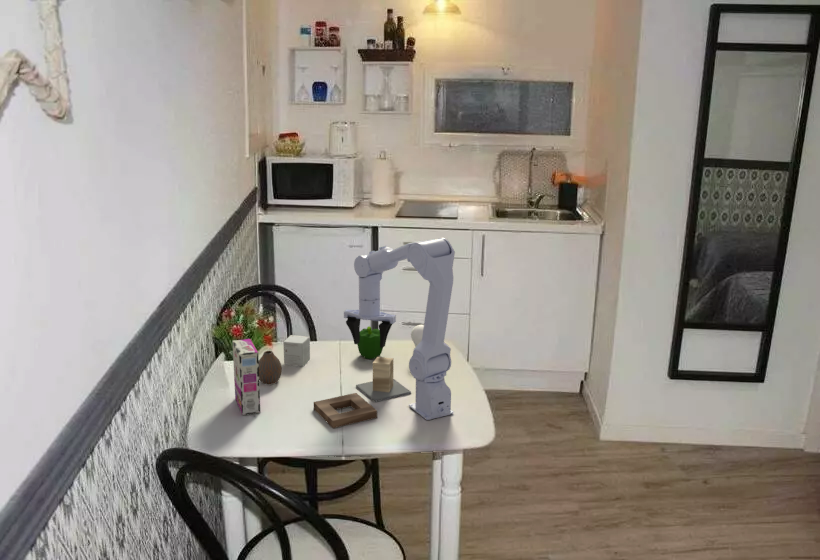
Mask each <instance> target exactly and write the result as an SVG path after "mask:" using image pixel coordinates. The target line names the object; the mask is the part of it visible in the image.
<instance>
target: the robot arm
mask: <svg viewBox="0 0 820 560" xmlns="http://www.w3.org/2000/svg"><path fill="white" fill-rule="evenodd" d="M455 254H456V252H455V250H454V248H453V246H452V244H451V243H450V241H449V240H448V238H444V237H438V238H436V239H435V238H432V239H426V240H425V239H424V240H419V241H413V242H408V243H406V244H404V245H403V244H402V245H401V246H399V247H397V248H396V247H395V248H392V247H389V246H387V245H384V246H380V247H379V249H378V250H376V251H375V250H371V251H369V252H368V254H363V255H358V256H357V257H355V259H354V261H353V267H354V271H355V274H356V275H357V276H358V309H347V308H346V309H345V310H344V311H343V318H344V319H347V320H346V321H345V324H346V326H347V327H348V329H349V331H350V334H351V336H352V339H353V343H354V345H357V344H358V343H359V341H360V331H361V330H360V329H361V328H360V327H361V321H362V320H363V321H373V322H380V323H379V324H378V329H379V331H380V348H384V347H386V343H387V338H388V334H389V332H390V330H391V328H392V325H394V324H395V323H396V322H397V315H396V314H391V313H389V312H384V311H381V280H382V279H383V273H384V272H386V271H391V270H393V269H395V268H396V267H397V266H398V265H399V262H401V261H404V260H407V262H409V263H410V264H411V266H412V268H414V269H415V271H417V272H418V273H419V275H420V276H421V277H422V278H423V280H425V281H428V283H429V288H428V294H427V302H426V307H425V308H426V310H425V314H424V315H425V316H424V320H423V321H424V322H423V323H424V324H423V325H424V328H423V336H422V341H421V342H420V343H419V344H418V345H417V346H416V347H415V346H414V349H413V351H412V356H411V357H410V358H409V361H408V367H409V368H408V369H409V372H410V374H411V376H412V377H413V379H415V402H412V403H408V407H409V408H411V409H412V410H413V411H414V412H415V413H417V414H418V415H419V416H420V417H422V418H424V419H425V420H427V421H430V420H434V419H437V418H442V417H445V416H450V415H453V414H454V412H455V411H453V410H452V390H451V388H450V387H449V386H448V385H447V383H446V380H445V377H446V376H447V372H448V371H449V370H451V367H452V358H451V350H452V348H451V347H450V346H449V345H448V344H447V343H445V337H446V331H447V325H448V317H449V313H450V312H449V311H450V305H451V298H452V294H453V293H452V291H453V285H454V271H453V268H454V261H455Z"/></svg>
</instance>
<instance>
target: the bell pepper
mask: <svg viewBox="0 0 820 560" xmlns="http://www.w3.org/2000/svg"><path fill="white" fill-rule="evenodd" d="M356 345H357V349H358V353H359V355H360V356H361V357H363V358H364V359H367V360H375V359H376V358H377V357H381V354H382V352H383V348H384V347H383V348H380V331H379V328H372V327H371V326H370V325H369V326H367V327H366V328H362V329H361V330H360V341H359V343H358V344H356Z"/></svg>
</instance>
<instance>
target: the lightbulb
mask: <svg viewBox="0 0 820 560" xmlns="http://www.w3.org/2000/svg"><path fill="white" fill-rule="evenodd" d="M423 328H424V324H418V325H416V326H414V327H413V328H412V330H411V333H410V338H411V340H412V342H413V344H414V348H415V347H416V346H417V345H418V344H419V343H420V342H421V341H422V336H423Z"/></svg>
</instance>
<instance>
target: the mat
mask: <svg viewBox="0 0 820 560" xmlns="http://www.w3.org/2000/svg"><path fill="white" fill-rule="evenodd" d="M355 387H356V388H357V390H360V392H362V394H364V395H365V396H366V397H368V399H370V400H371V401H373V403H376V401H377V402H380V401H386V400H389V399H394V398H399V397H403V396H407V395H412V391H410V389H408V388H407V387H405V385H403V384H402V383H400V382H399V381H397V380H396V379H395V378H393V387H392V389H391V390H390V392H381V391H373V380H372V381H369V382H368V381H367V382H364V383H359V384H356V385H355ZM402 395H403V396H402ZM398 396H399V397H398Z"/></svg>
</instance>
